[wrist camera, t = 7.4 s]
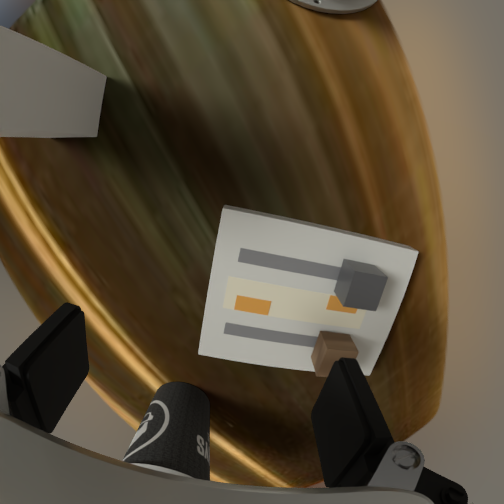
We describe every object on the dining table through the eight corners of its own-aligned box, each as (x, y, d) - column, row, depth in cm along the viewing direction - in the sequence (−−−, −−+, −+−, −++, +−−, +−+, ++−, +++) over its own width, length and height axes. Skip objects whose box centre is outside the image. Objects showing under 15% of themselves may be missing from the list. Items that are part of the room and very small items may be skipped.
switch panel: (224, 204, 26) (222, 208, 24) (409, 245, 27) (419, 252, 25) (200, 342, 30) (197, 354, 28) (363, 364, 31) (369, 375, 29)
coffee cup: (169, 431, 34) (146, 526, 20) (128, 380, 32) (83, 480, 17) (236, 418, 33) (232, 525, 19) (200, 362, 31) (175, 480, 16)
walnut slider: (320, 330, 27) (327, 348, 24) (349, 334, 27) (359, 351, 24) (310, 356, 28) (316, 376, 25) (339, 359, 28) (347, 378, 25)
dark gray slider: (343, 258, 25) (354, 270, 22) (374, 265, 25) (388, 277, 22) (333, 291, 26) (343, 306, 23) (363, 296, 26) (375, 311, 23)
